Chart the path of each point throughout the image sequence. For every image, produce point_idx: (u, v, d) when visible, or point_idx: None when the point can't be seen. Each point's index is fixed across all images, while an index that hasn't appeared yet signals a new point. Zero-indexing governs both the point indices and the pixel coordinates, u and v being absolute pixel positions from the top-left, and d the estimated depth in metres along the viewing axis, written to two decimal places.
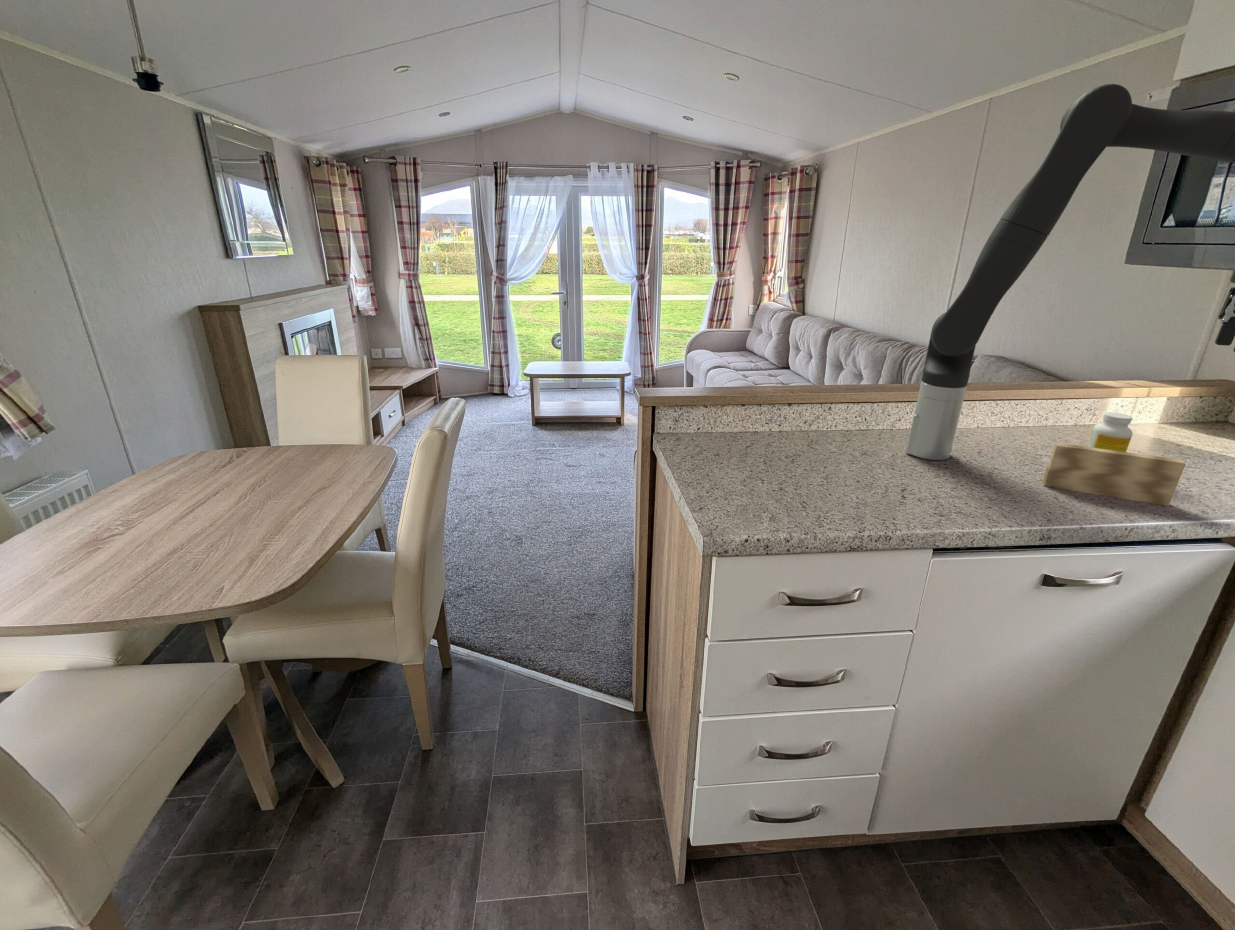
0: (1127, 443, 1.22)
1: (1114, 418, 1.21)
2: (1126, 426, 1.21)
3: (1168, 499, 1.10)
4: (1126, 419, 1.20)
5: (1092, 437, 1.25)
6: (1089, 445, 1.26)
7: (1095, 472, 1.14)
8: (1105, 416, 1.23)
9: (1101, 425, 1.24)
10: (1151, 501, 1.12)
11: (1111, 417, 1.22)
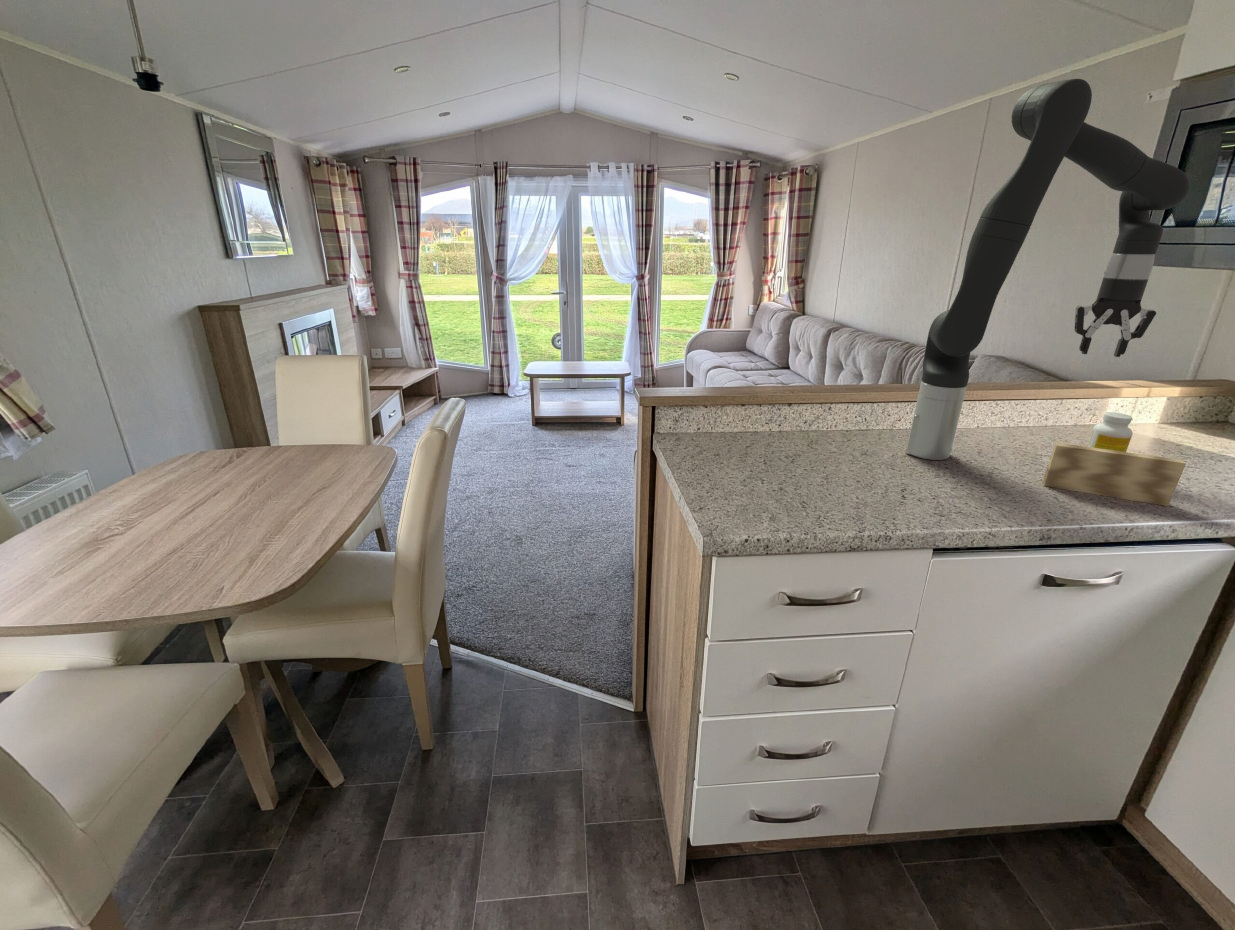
0: (1127, 443, 1.22)
1: (1114, 418, 1.21)
2: (1126, 426, 1.21)
3: (1168, 499, 1.10)
4: (1126, 419, 1.20)
5: (1092, 437, 1.25)
6: (1089, 445, 1.26)
7: (1095, 472, 1.14)
8: (1105, 416, 1.23)
9: (1101, 425, 1.24)
10: (1151, 501, 1.12)
11: (1111, 417, 1.22)
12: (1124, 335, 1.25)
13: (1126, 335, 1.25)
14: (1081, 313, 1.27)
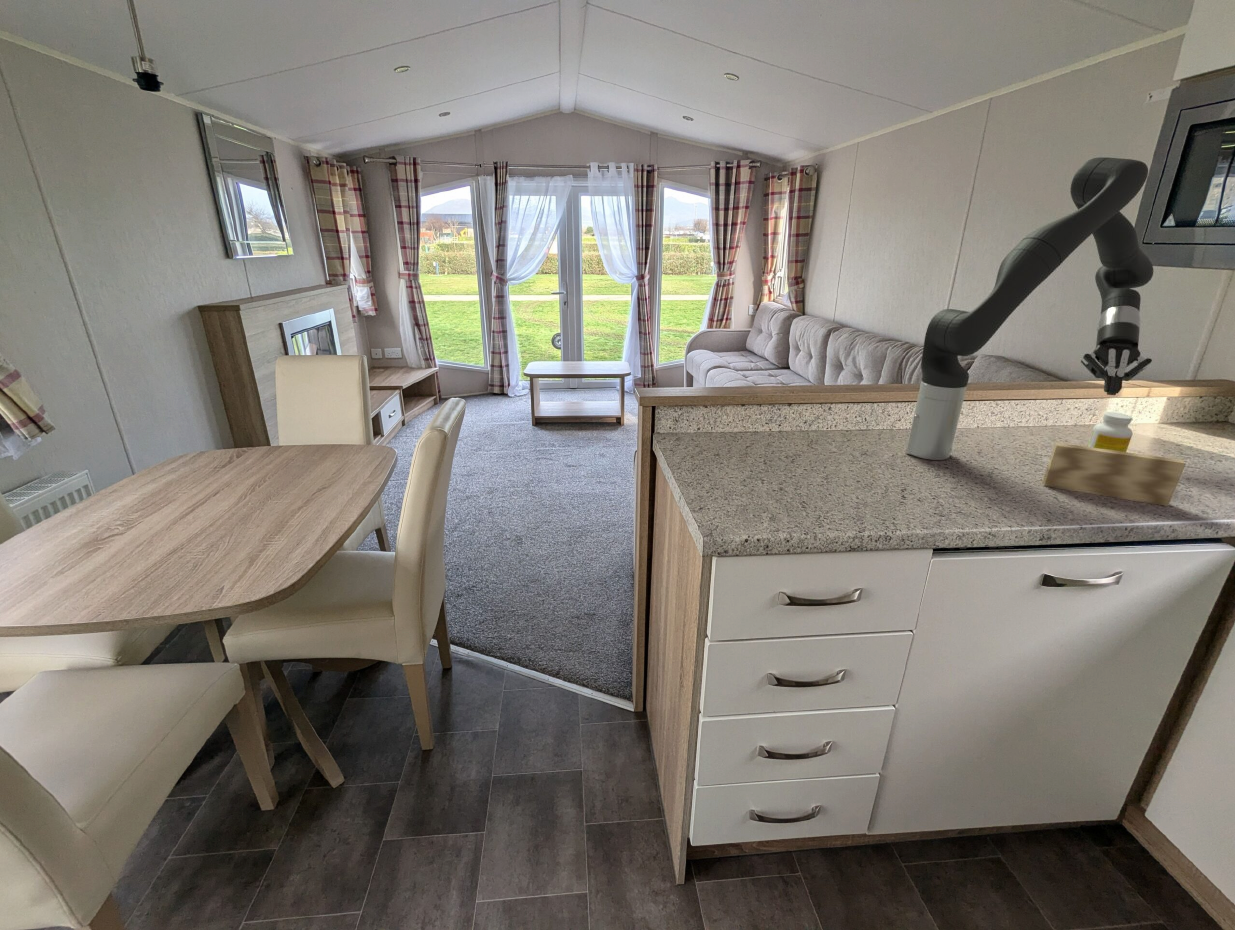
0: (1127, 443, 1.22)
1: (1114, 418, 1.21)
2: (1126, 426, 1.21)
3: (1168, 499, 1.10)
4: (1126, 419, 1.20)
5: (1092, 437, 1.25)
6: (1089, 445, 1.26)
7: (1095, 472, 1.14)
8: (1105, 416, 1.23)
9: (1101, 425, 1.24)
10: (1151, 501, 1.12)
11: (1111, 417, 1.22)
12: (1117, 372, 1.30)
13: (1119, 372, 1.30)
14: (1090, 358, 1.33)
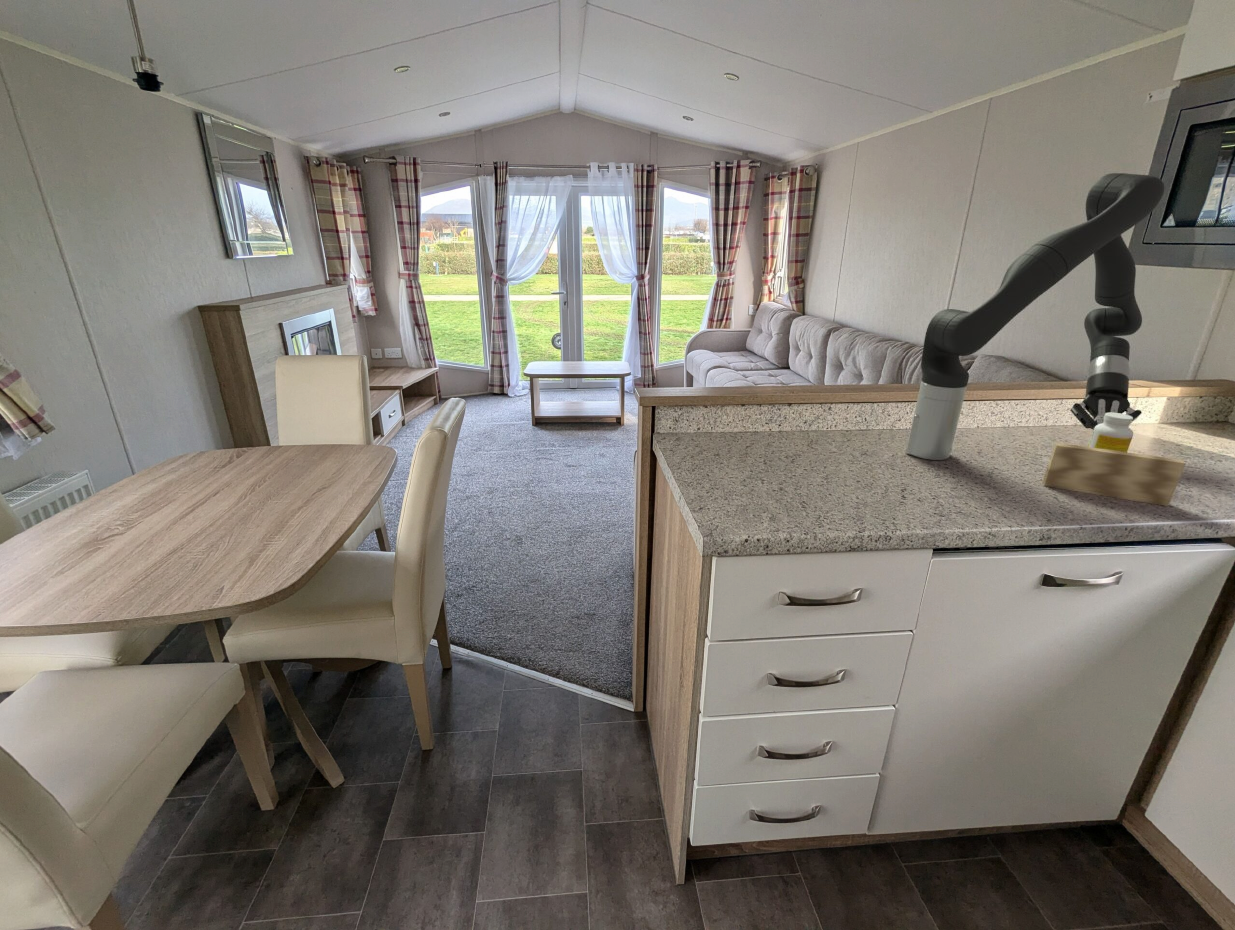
0: (1128, 443, 1.21)
1: (1115, 418, 1.21)
2: (1127, 426, 1.21)
3: (1168, 499, 1.10)
4: (1127, 419, 1.20)
5: (1093, 437, 1.25)
6: (1090, 445, 1.26)
7: (1095, 472, 1.14)
8: (1106, 416, 1.22)
9: (1102, 425, 1.23)
10: (1151, 501, 1.12)
11: (1112, 417, 1.21)
12: None
13: None
14: (1080, 407, 1.32)
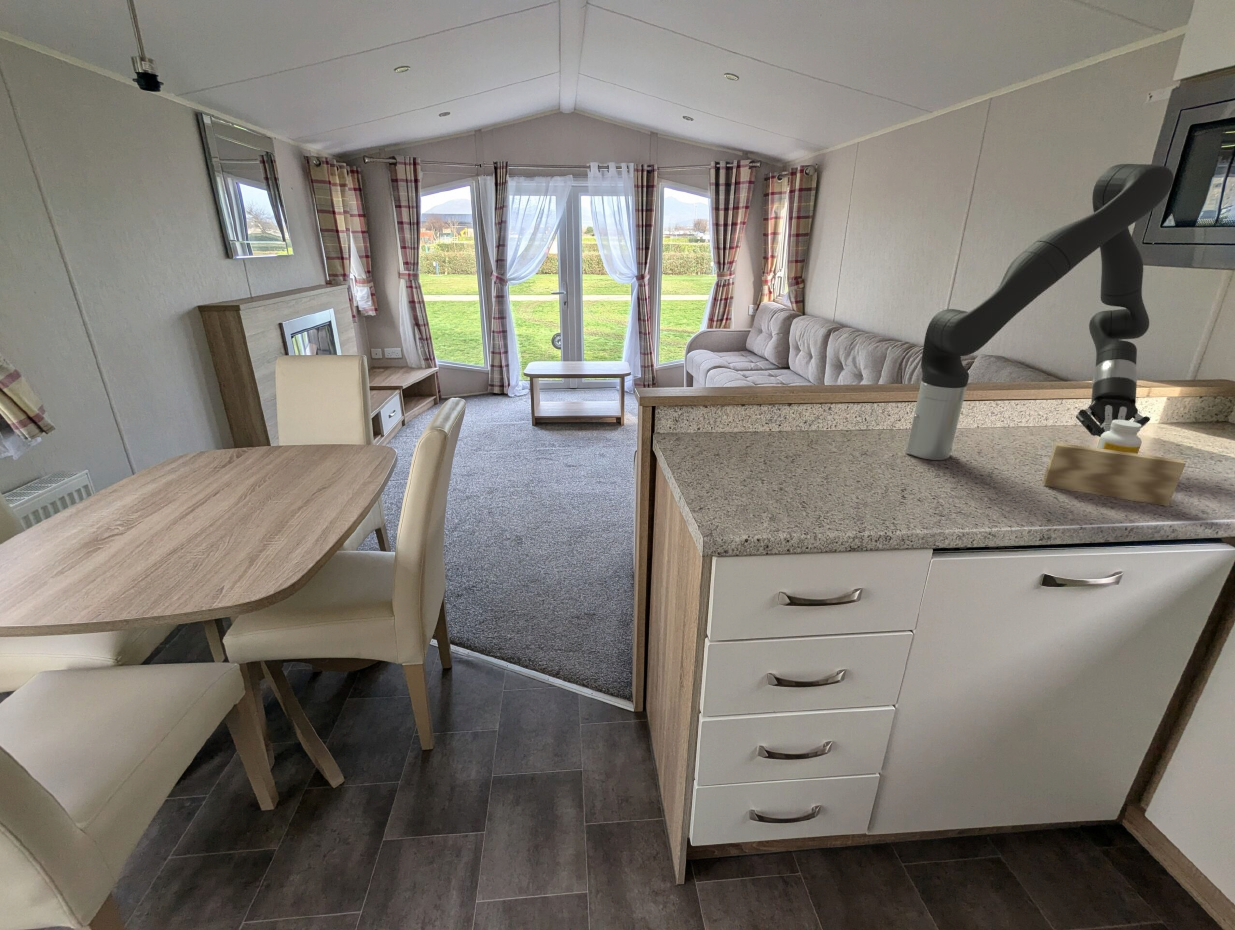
0: (1136, 452, 1.16)
1: (1122, 426, 1.16)
2: (1135, 434, 1.16)
3: (1168, 499, 1.10)
4: (1135, 427, 1.15)
5: (1099, 445, 1.20)
6: None
7: (1095, 472, 1.14)
8: (1113, 424, 1.18)
9: (1108, 433, 1.19)
10: (1151, 501, 1.12)
11: (1119, 425, 1.17)
12: None
13: None
14: (1086, 414, 1.27)
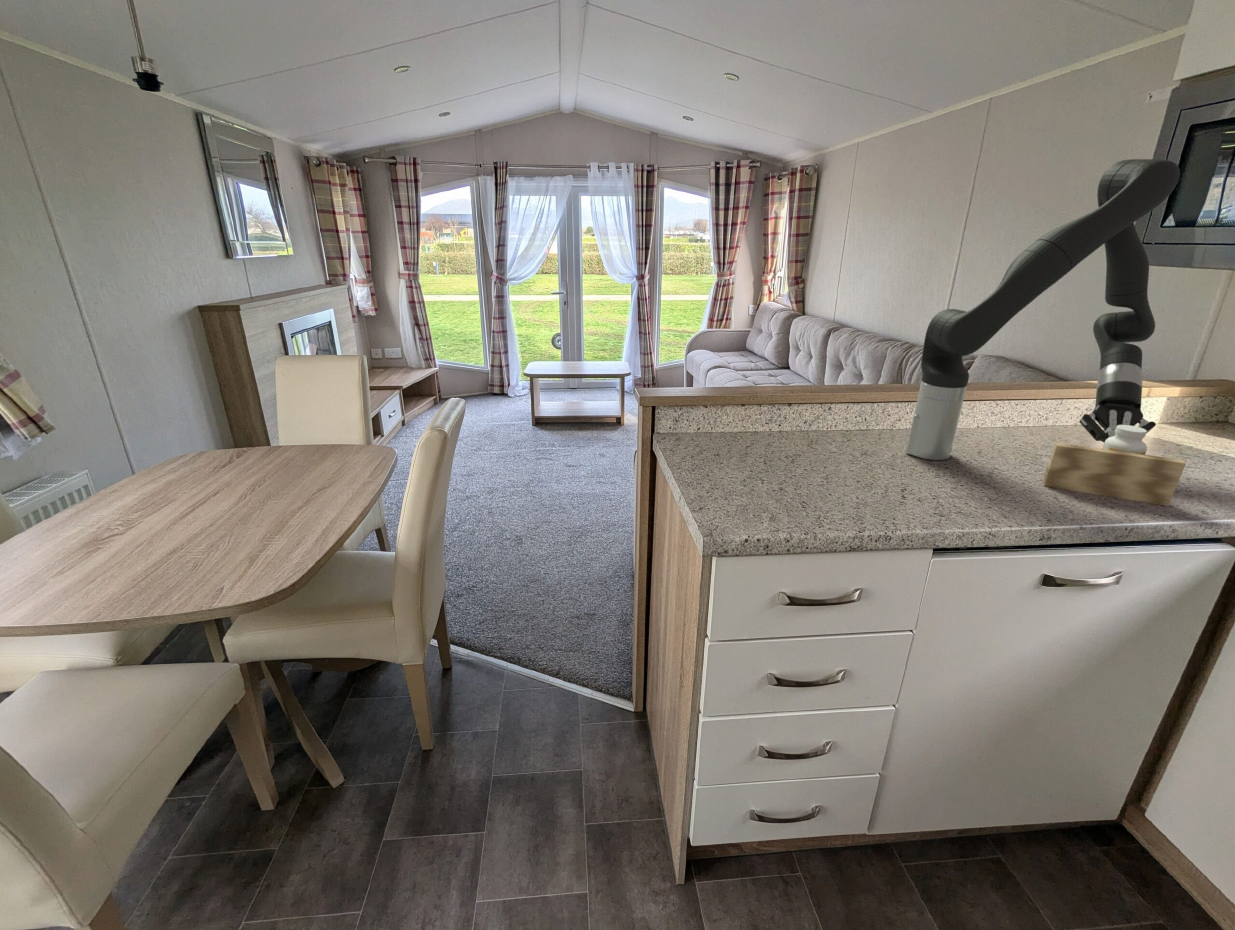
0: None
1: (1126, 431, 1.13)
2: (1140, 440, 1.13)
3: (1168, 499, 1.10)
4: (1140, 433, 1.12)
5: None
6: None
7: (1095, 472, 1.14)
8: (1117, 429, 1.15)
9: (1113, 439, 1.16)
10: (1151, 501, 1.12)
11: (1123, 430, 1.13)
12: None
13: None
14: (1089, 419, 1.24)
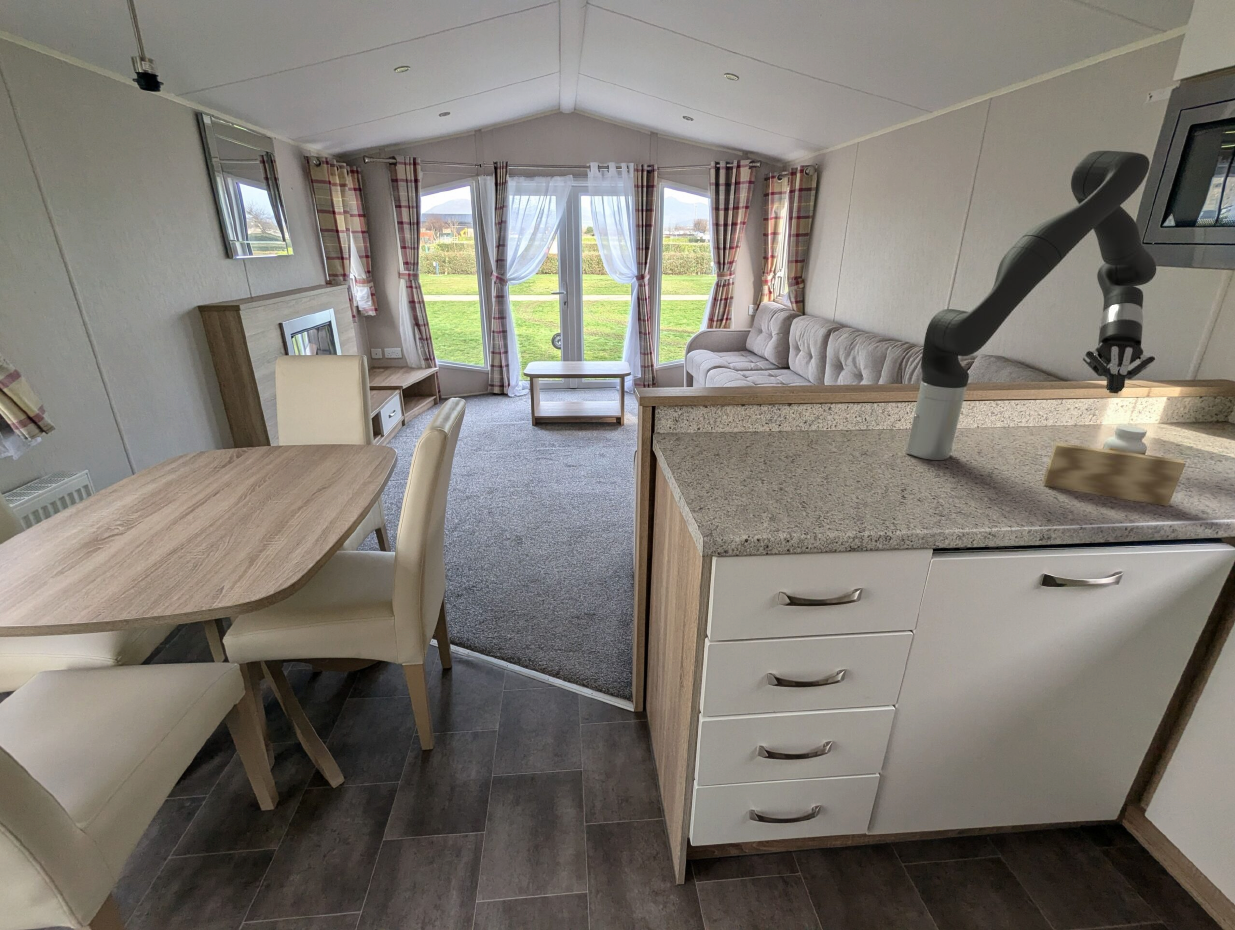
0: None
1: (1127, 432, 1.13)
2: (1140, 440, 1.13)
3: (1168, 499, 1.10)
4: (1140, 433, 1.12)
5: None
6: None
7: (1095, 472, 1.14)
8: (1117, 429, 1.15)
9: (1113, 439, 1.16)
10: (1151, 501, 1.12)
11: (1123, 430, 1.13)
12: (1119, 370, 1.28)
13: (1121, 370, 1.28)
14: (1092, 355, 1.31)
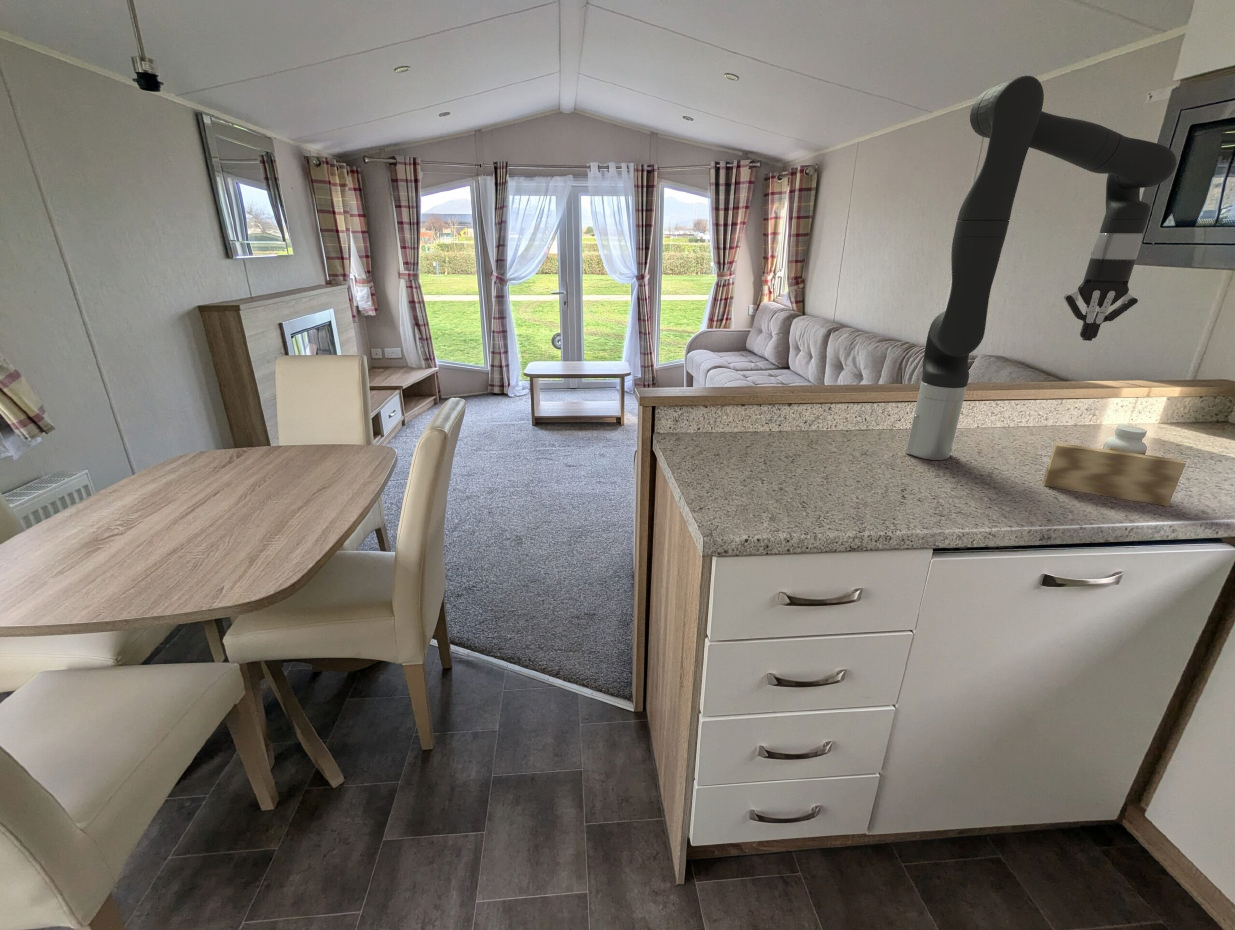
0: None
1: (1127, 432, 1.13)
2: (1140, 440, 1.13)
3: (1168, 499, 1.10)
4: (1140, 433, 1.12)
5: None
6: None
7: (1095, 472, 1.14)
8: (1117, 429, 1.15)
9: (1113, 439, 1.16)
10: (1151, 501, 1.12)
11: (1123, 430, 1.13)
12: (1096, 318, 1.23)
13: (1098, 318, 1.23)
14: (1071, 301, 1.24)
